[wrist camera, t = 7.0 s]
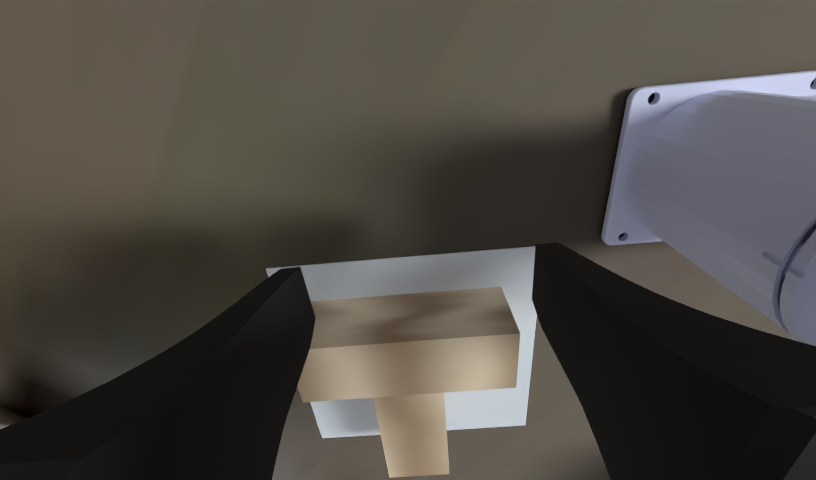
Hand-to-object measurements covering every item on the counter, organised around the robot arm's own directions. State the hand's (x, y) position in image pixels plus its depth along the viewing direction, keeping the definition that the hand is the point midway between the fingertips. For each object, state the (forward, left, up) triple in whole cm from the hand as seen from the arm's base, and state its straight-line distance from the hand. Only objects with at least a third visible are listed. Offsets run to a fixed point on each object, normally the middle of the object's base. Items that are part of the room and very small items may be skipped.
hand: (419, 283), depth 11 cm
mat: (+1, +12, -8) cm, 15 cm away
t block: (+1, +13, -8) cm, 15 cm away
